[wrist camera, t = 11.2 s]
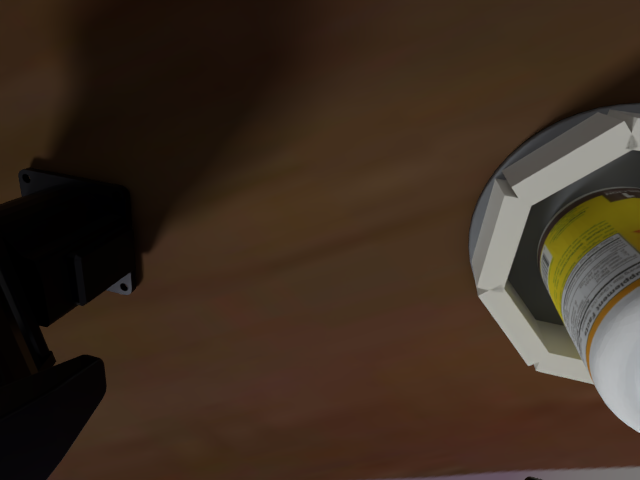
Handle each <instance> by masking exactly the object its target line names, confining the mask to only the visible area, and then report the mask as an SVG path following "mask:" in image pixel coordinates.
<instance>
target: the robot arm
mask: <svg viewBox="0 0 640 480" xmlns="http://www.w3.org/2000/svg"><path fill="white" fill-rule="evenodd" d="M29 177H30V179H31V180H30V179H29ZM19 182H20V188H21V194H22V197H20V198H17V199H14V200H11V201H8V202H5V203H3V204H0V480H47V478H48V477H49V476H50V474H51V473H52V472H53V471H54V469H55V468H56V467H57V465H58V464H59V463H60V462H61V460H62V459H63V457H64V456H65V454H66V453H67V452H68V450H69V449H70V447H71V446H72V444H73V443H74V441H75V440H76V438H77V437H78V435H79V434H80V432H81V431H82V429H83V427H84V426H85V424H86V423H87V421H88V420H89V418H90V417H91V415H92V414H93V412H94V411H95V409H96V408H97V406H98V405H99V403H100V402H101V400H102V399H103V397H104V395H105V392H106V377H105V368H104V362H103V361H102V359H100V358H97V357H94V356H90V355H81V356H78V357H76V358H73V359H71V360H68V361H66V362H63V363H61V364H58V365H56V366H53V365H54V364H55V362H56V360H55V357H54V355H53V353H52V351H49V349H48V346H47V344H46V342H45V339H44V337H43V334H42V332H41V330H40V327H39V325H40V326H44V327H48V326H49V325H51V324H52V323H54V322H55V321H57V320H58V319H59V318H61V317H62V316H64V315H65V314H66V313H68V312H69V311H71V310H72V309H74V308H75V307H76V306H78V305H81V306H84V305H86V304H87V303H88V302H90V301H91V300H93V299H94V298H95V297H97V296H98V295H100V294H101V293H102V292H104V291H105V290H107V291H112V292H116V293H120V294H124V295H128V294H130V293H132V292H133V291H134V290H135V289H136V278H135V254H134V240H133V229H132V220H131V205H130V195H129V192H128V190H127V189H126V188H125V187H123V186H121V185H116V184H111V183H106V182H101V181H95V180H90V179H85V178H80V177H75V176H70V175H65V174H60V173H54V172H49V171H44V170H39V169H34V168H26V169H23V170H21V171H20V172H19ZM117 193H119V194H120V196H121V198H119V197H118V195H117ZM125 284H126V285H127V286H128V287H126V286H125ZM525 480H541V479H538V478H534V477H527V478H526V479H525Z"/></svg>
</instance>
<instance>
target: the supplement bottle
mask: <svg viewBox="0 0 640 480" xmlns="http://www.w3.org/2000/svg"><path fill="white" fill-rule="evenodd" d="M537 264H538V269H539V272H540V275H541V278H542V280H543V282H544V285H545V286H546V288H547V291H548V293H549V295H550V297H551V299H552V301H553V303H554V305H555V307H556V309H557V311H558V313H559V315H560V317H561V319H562V321H563V323H564V325H565V327H566V329H567V331H568V333H569V335H570V337H571V339H572V341H573V343H574V345H575V347H576V349H577V351H578V353H579V355H580V357H581V359H582V361H583V363H584V365H585V367H586V369H587V371H588V373H589V375H590V377H591V379H592V381H593V383H594V385H595V387H596V389H597V390H598V392H599V394H600V395H601V397H602V399H603V400H604V402H605V403H606V405H607V406H608V407H609V408H610V409H611V411H612V412H613V413H614V414H615V415H616V416H617V417H618V418H619V419H621V420H622V421H623V422H624V423H626V424H627V425H628V426H630V427H631V428H633V429H634V430H636V431H638V432H639V433H640V188H636V187H611V188H604V189H600V190H596V191H593V192H590V193H587V194H585V195H582V196H580V197H578V198H576V199H575V200H573V201H571V202H570V203H568V204H567V205H566V206H564V207H563V208H562V209H560V210H559V211H558V212H557V213H556V214H555V215H554V216H553V217H552V219H551V220H550V221H549V223H548V224H547V226H546V227H545V229H544V231H543V233H542V235H541V238H540V241H539V244H538V249H537Z"/></svg>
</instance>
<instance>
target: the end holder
mask: <svg viewBox="0 0 640 480" xmlns="http://www.w3.org/2000/svg"><path fill="white" fill-rule="evenodd" d="M611 187H636V188H640V103H630V104H617V105H611V106H605V107H600V108H596V109H592V110H589V111H585V112H582V113H578V114H575V115H573V116H571V117H568V118H566V119H563V120H561V121H558V122H556V123H554V124H553V125H551V126H549V127H547V128H545V129H544V130H542V131H540V132H538V133H537V134H535V135H534V136H533V137H531V138H530V139H528V140H527V141H525V142H524V143H523V144H521V145H520V146H519V147H518V148H517V149H516V150H515V151H514V152H512V153H511V154H510V155H509V156H508V157H507V158H506V159H505V160H504V161H503V163H502V164H501V165H500V166H499V167H498V168H497V169H496V170H495V172H494V173H493V175H492V176H491V178H490V179H489V181H488V182H487V184H486V185H485V187H484V189H483V191H482V193H481V195H480V197H479V199H478V201H477V203H476V206H475V209H474V212H473V215H472V219H471V224H470V229H469V245H468V246H469V256H470V263H471V267H472V271H473V275H474V279H475V283H476V288H477V293H478V296H479V298H480V299H481V301H482V302H483V303H484V305H485V306H486V308H487V309H488V310H489V312H490V313H491V315H492V316H493V317H494V319H495V320H496V322H497V323H498V324H499V326H500V327H501V329H502V330H503V331H504V333H505V334H506V336H507V337H508V338H509V340H510V341H511V342H512V344H513V345H514V347H515V348H516V349H517V351H518V352H519V354H520V355H521V356H522V358H523V359H524V361H525V362H526V363H527V365H528V366H530V365H532V364H534V366H535V369H536V371H539V372H543V373H548V374H552V375H556V376H560V377H565V378H569V379H573V380H578V381H582V382H586V383H591V384H594V383H593V381H592V379H591V377H590V375H589V373H588V371H587V369H586V367H585V365H584V363H583V361H582V359H581V357H580V355H579V353H578V351H577V349H576V347H575V345H574V343H573V341H572V339H571V337H570V335H569V333H568V331H567V329H566V327H565V325H564V323H563V321H562V319H561V317H560V315H559V313H558V311H557V309H556V307H555V305H554V303H553V301H552V299H551V297H550V295H549V293H548V291H547V288H546V286H545V285H544V282H543V280H542V278H541V275H540V272H539V269H538V264H537V249H538V244H539V241H540V238H541V235H542V233H543V231H544V229H545V227H546V226H547V224H548V223H549V221H550V220H551V219H552V217H553V216H554V215H555V214H556V213H557V212H558V211H559V210H560V209H562V208H563V207H564V206H566V205H567V204H568V203H570V202H571V201H573V200H575V199H576V198H578V197H580V196H582V195H585V194H587V193H590V192H593V191H596V190H600V189H604V188H611Z"/></svg>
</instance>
